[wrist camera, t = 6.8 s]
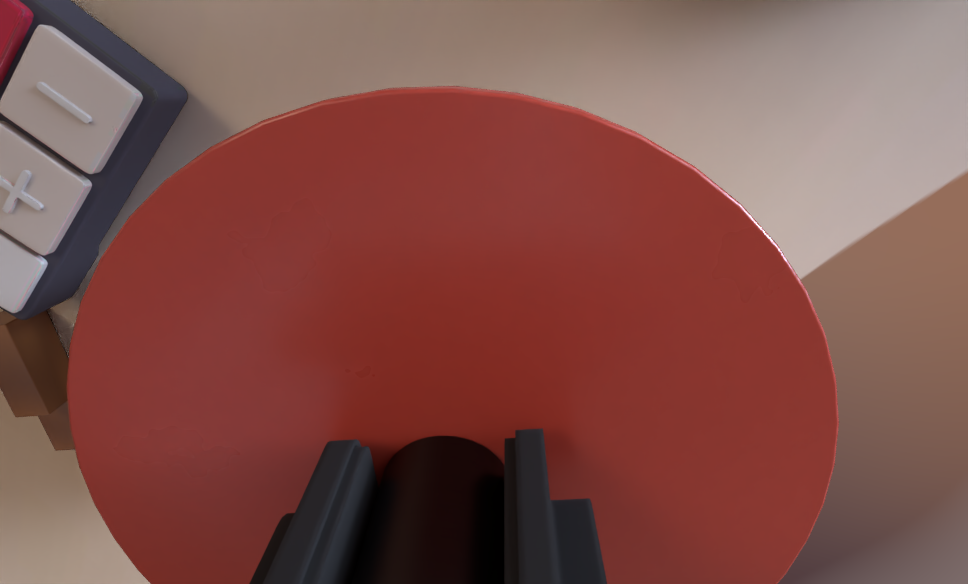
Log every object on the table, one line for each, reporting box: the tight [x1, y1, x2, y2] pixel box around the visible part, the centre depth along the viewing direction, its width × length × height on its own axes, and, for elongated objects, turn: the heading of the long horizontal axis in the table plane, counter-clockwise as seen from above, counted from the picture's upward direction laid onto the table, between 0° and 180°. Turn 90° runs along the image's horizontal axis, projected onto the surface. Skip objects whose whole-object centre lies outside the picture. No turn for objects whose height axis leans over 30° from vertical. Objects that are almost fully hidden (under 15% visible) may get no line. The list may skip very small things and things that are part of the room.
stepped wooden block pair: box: [0, 310, 75, 450], centre depth 34 cm, size 10×4×3 cm, turn 6°
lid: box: [67, 86, 839, 584], centre depth 10 cm, size 15×15×6 cm
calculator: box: [0, 0, 187, 320], centre depth 27 cm, size 11×4×15 cm
